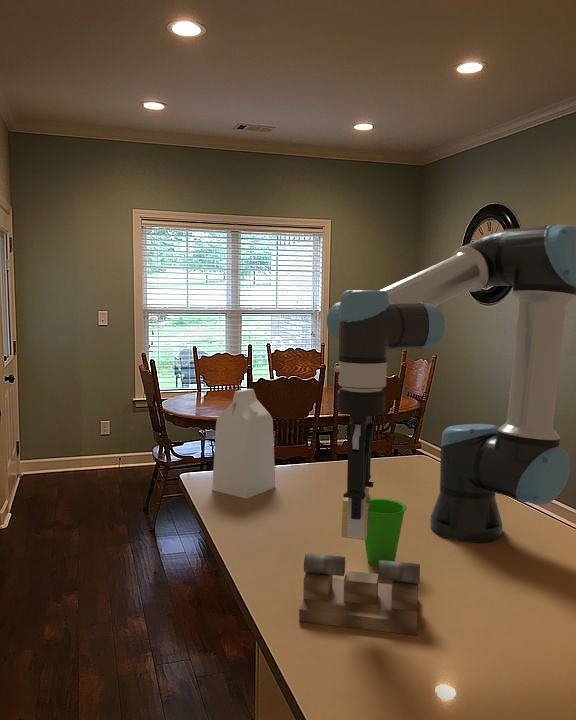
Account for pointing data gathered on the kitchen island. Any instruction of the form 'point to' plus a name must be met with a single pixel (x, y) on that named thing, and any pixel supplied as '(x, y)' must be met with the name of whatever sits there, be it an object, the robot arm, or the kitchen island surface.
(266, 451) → the milk
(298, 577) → the kitchen island surface
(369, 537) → the cup
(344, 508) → the wooden block
